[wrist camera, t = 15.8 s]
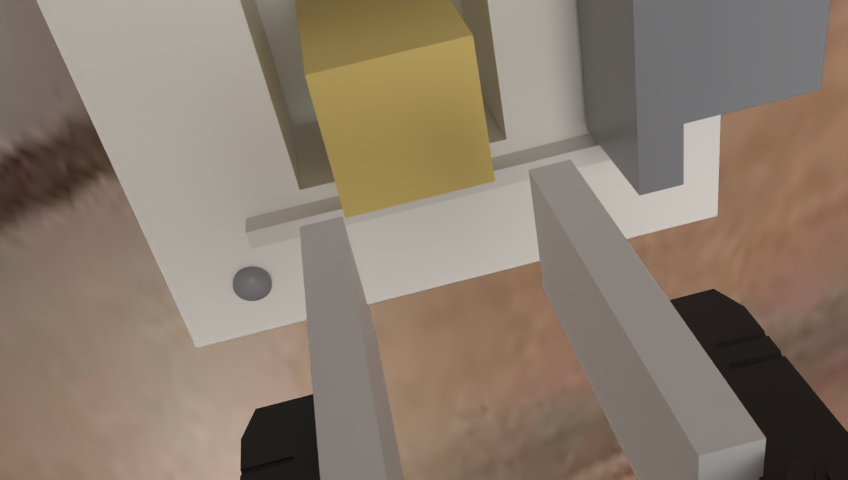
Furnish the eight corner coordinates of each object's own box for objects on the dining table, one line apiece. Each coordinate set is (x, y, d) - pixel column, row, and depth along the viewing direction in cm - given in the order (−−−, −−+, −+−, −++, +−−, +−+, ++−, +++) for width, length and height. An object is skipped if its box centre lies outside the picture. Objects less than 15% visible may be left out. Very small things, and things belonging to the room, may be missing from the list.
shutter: (570, -106, 21) (630, -72, 17) (824, -166, 21) (930, -143, 18) (587, 130, 24) (639, 195, 21) (801, 77, 25) (885, 133, 21)
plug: (292, -20, 25) (304, 75, 19) (416, -49, 25) (473, 34, 19) (324, 96, 27) (345, 217, 21) (438, 69, 28) (495, 181, 21)
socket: (7, -208, 22) (-64, -185, 17) (647, -350, 23) (753, -367, 18) (204, 262, 31) (194, 364, 26) (657, 149, 32) (728, 228, 27)
